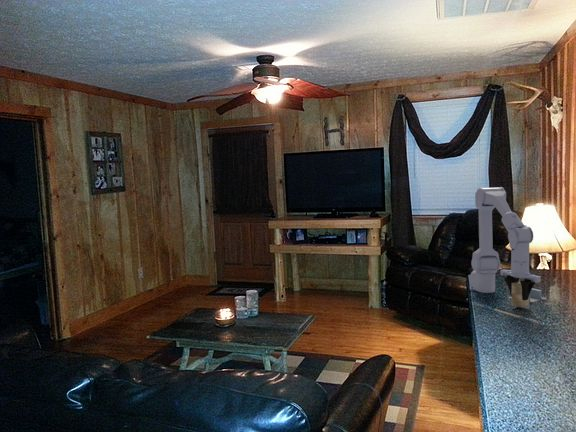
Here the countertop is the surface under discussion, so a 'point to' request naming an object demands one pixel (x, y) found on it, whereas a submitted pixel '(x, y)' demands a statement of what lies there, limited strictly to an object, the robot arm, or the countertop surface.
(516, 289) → the peg
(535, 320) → the countertop surface
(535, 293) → the vise
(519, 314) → the mat
